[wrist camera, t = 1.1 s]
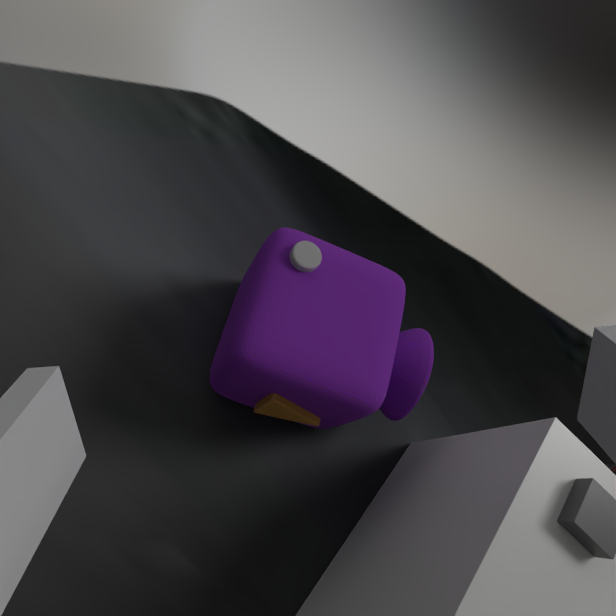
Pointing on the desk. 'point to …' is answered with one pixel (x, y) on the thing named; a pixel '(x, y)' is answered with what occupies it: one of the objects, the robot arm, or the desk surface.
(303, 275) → the toy camera
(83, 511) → the desk surface
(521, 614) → the camera body
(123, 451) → the desk surface
